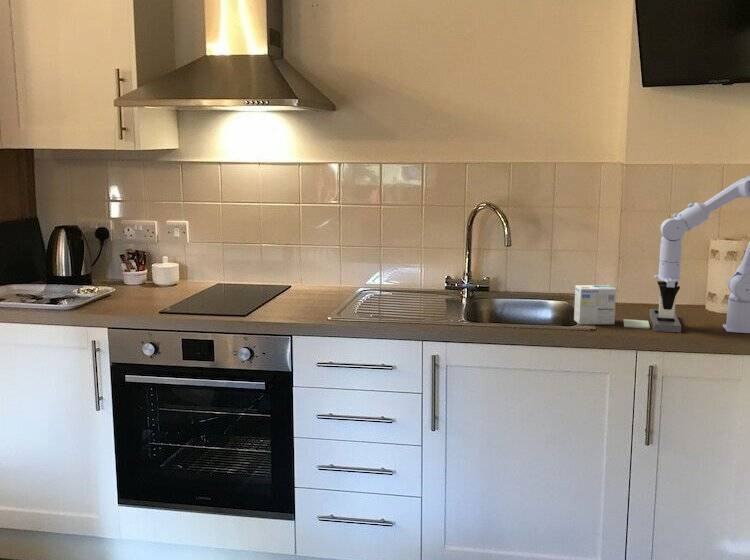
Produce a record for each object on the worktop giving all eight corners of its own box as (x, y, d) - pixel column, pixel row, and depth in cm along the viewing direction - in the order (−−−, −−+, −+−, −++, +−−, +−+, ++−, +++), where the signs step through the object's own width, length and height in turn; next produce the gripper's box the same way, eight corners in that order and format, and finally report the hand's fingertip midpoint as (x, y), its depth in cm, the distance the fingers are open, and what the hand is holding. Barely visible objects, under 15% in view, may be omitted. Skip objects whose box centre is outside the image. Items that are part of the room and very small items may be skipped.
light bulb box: (607, 319, 240) (610, 284, 238) (615, 324, 233) (617, 288, 231) (572, 319, 239) (574, 284, 238) (579, 324, 233) (580, 288, 231)
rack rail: (673, 316, 244) (674, 310, 243) (680, 332, 224) (681, 325, 223) (649, 315, 245) (649, 308, 245) (654, 331, 225) (654, 324, 225)
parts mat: (648, 322, 236) (648, 320, 236) (649, 328, 229) (649, 326, 228) (623, 320, 238) (623, 319, 238) (624, 326, 230) (624, 325, 230)
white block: (672, 315, 232) (674, 294, 231) (674, 318, 228) (675, 297, 227) (658, 314, 233) (659, 294, 232) (659, 317, 229) (660, 296, 228)
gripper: (653, 256, 236) (650, 301, 238) (657, 264, 222) (653, 312, 224) (678, 257, 234) (675, 303, 236) (684, 265, 220) (680, 313, 223)
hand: (666, 307), depth 230 cm, fingers closed on white block, 4 cm apart
